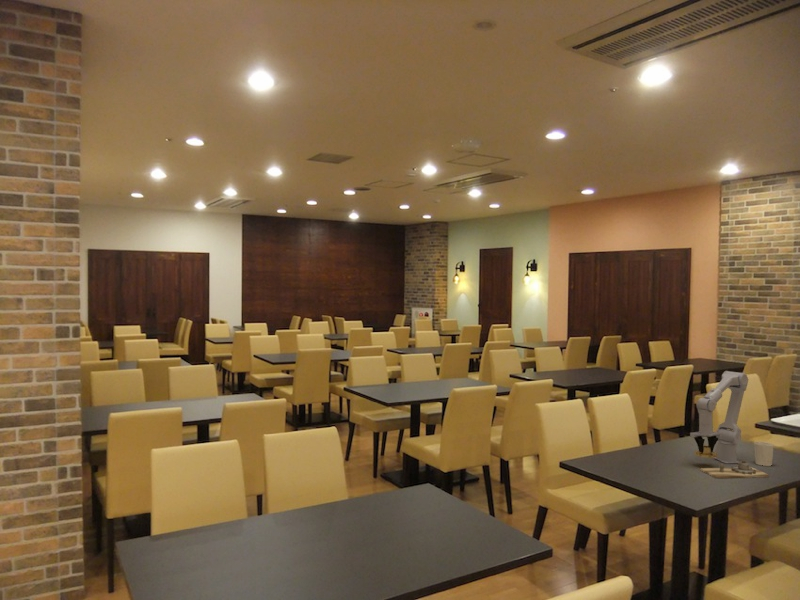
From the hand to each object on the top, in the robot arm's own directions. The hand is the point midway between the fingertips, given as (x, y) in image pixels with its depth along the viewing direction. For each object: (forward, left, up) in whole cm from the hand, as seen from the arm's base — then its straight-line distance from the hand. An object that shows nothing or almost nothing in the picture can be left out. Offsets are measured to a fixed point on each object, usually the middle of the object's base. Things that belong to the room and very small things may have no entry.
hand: (705, 452), depth 276 cm
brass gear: (0, 0, -1) cm, 1 cm away
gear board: (+12, +6, -7) cm, 15 cm away
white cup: (-1, +30, -7) cm, 31 cm away
